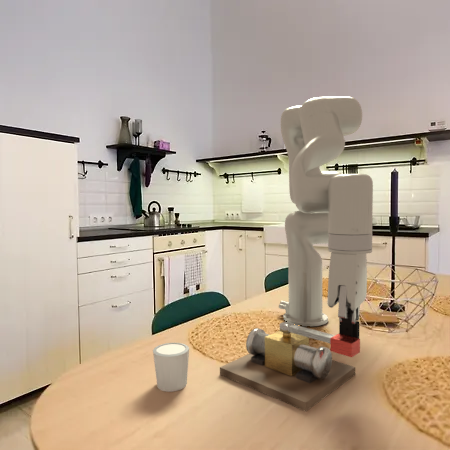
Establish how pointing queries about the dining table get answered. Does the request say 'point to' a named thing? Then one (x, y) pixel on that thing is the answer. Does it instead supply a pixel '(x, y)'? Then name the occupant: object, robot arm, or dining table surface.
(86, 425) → the dining table surface
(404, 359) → the dining table surface
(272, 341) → the valve pipe
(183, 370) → the white cup
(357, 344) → the valve lever
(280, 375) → the valve board
